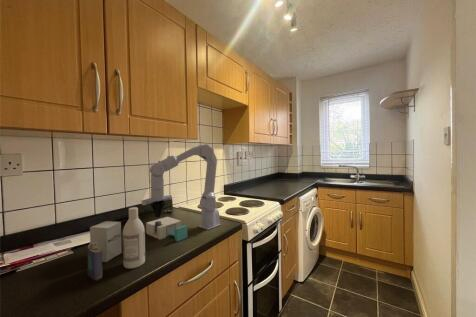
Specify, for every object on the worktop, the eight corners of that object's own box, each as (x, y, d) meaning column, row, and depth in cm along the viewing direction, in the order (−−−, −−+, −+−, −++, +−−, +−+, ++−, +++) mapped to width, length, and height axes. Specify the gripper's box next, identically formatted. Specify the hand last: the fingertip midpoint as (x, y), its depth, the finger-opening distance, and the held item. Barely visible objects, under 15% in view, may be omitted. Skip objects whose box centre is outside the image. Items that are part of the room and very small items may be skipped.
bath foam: (135, 257, 77) (134, 205, 77) (149, 260, 74) (148, 206, 74) (118, 267, 70) (117, 209, 70) (133, 271, 68) (132, 211, 68)
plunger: (159, 228, 99) (159, 220, 99) (162, 230, 97) (162, 221, 97) (153, 230, 97) (153, 222, 97) (157, 231, 95) (156, 223, 95)
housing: (167, 226, 110) (167, 216, 110) (181, 231, 103) (181, 220, 103) (146, 233, 101) (146, 222, 100) (159, 239, 93) (159, 227, 93)
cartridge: (164, 228, 107) (163, 218, 107) (187, 237, 95) (187, 225, 95) (153, 231, 102) (153, 220, 102) (177, 241, 90) (177, 229, 90)
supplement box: (106, 262, 73) (105, 228, 73) (89, 260, 75) (88, 227, 75) (122, 253, 81) (121, 221, 80) (106, 251, 82) (105, 220, 82)
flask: (104, 278, 64) (103, 244, 64) (92, 282, 62) (91, 247, 62) (95, 267, 70) (94, 237, 70) (85, 271, 68) (84, 240, 68)
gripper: (166, 186, 105) (166, 212, 105) (138, 190, 93) (138, 219, 94) (174, 187, 100) (174, 214, 101) (145, 191, 89) (146, 222, 89)
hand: (157, 217), depth 97 cm, fingers closed
